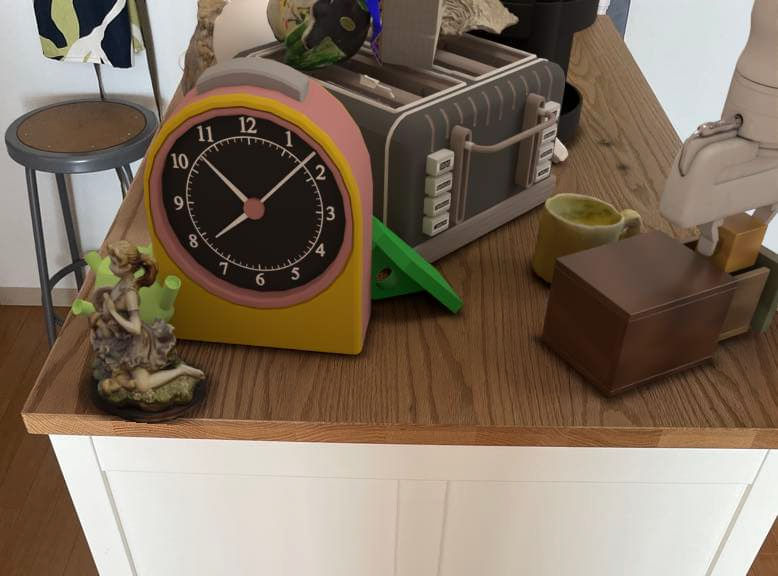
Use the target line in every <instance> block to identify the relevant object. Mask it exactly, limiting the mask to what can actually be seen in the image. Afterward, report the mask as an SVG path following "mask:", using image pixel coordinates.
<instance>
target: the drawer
mask: <svg viewBox="0 0 778 576" xmlns="http://www.w3.org/2000/svg"><path fill="white" fill-rule="evenodd" d="M699 236H700V234H696V235H692V236H689V237H686V238H683V239H680V240H679V239H678V240H677V241H678V242H680V243H682V244H683V245H685V246H686V247H688V248H689V249H691V250H692V251H694V252H695V249H696V246H697V243H698V239H699ZM728 274H730V275H731V276H733V277H734V278H736V279H737V280H739V281H738V284H737V287H736V290H735V293H734V296H733V299H732V301H731V304H730V307H729V310H728V313H727V316H726V318H725V321H724V324H723V327H722V330H721V332H720V335H719V338H718V341H717V343H718V342H721V341H723V340H726V339H729V338H732V337H734V336H737V335H741V334H744V333H746V332H748V330H749V328H751V329H752V330H754V331H756V332H757V333H759V334H763V333H766V332H768V331H769V329H770V326H771V324H772V321H773V319H774V318H775V317H774V316H775V314H776V312H777V309H778V253H777V252H775V251H773V250H772V249H770V248H768V247H767V246H765V245H763V243H762V244H761V247H760V250H759V253H758V256H757V258H756V261H755V264H754V265H753V266H749V267H746V268H743V269H740V270H737V271H734V272H731V273H728Z"/></svg>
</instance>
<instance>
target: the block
mask: <svg viewBox="0 0 778 576" xmlns="http://www.w3.org/2000/svg"><path fill="white" fill-rule="evenodd" d="M717 228H718V236H720V237H722V238H723V239H724V241H723V244H722V246H721V250H720V252H719V253H718V254H715V255H711V256H708V257H706V256H704V255H703V254H701V253H700V252H699V251H698V244H699V240H700V237H701V235H700V234H699V235H700V236H699V239H698V243H697V246H696V249H695V253H697V254H699V255H700V256H702V257H703V258H705V259H706V260H708V261H709V262H711V263H713V264H714V265H716V266H717V267H719V268H720V269H722V270H723V271H725V272H727V273H731V272H734V271H737V270H740V269H743V268H746V267H749V266H753V265H754V264H755V261H756V258H757V256H758V253H759V250H760V247H761V244H762V245H763V242H764V239H765V235H766V233H767V230H768V228H769V224H768V225H767V224H765V223H763V222H761V221H760V220H758V219H756V218H754V217H753V216H752V214H749V213H748V212H747V211H746V212H743V213H739V214H736V215H732V216H729V217H725V218H724V221H723V224H722V226H719V227H717Z"/></svg>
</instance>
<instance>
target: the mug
mask: <svg viewBox="0 0 778 576" xmlns="http://www.w3.org/2000/svg"><path fill="white" fill-rule="evenodd" d="M542 209H543V210H542V213H541V217H540V222H539V225H538V233H537V237H536V243H535V247H534V252H533V253H534V254H533V256H532V268H533V269H532V270H533V272H534V273H535V275H537V277H539V278H542V279H543V280H544V281H545V282H546V283H548V284H549V283H550V284H551V283H552V277H553V272H554V266H555V260H556V258H560V257H563V256H567V255H570V254H574V253H577V252H581V251H584V250H588V249H591V248H595V247H599V246H602V245H606V244H609V243H613V242H616V241H620V240H623V239H627V238H631V237H634V236H638V235H641V234H642V231H643V219H642V217H641V214H639V212H637V211H636V210H634V209H623V210H621V211H618V210H617V209H616V208H615V207H614V206H613V205H612V204H610V203H608V202H606V201H604V200H601V199H599V198H597V197H594V196H590V195H585V194H579V193H570V192H568V193H557V194H555V195H554V196H553V197H552V196H551V198H548V199H547V200H546V201H545V202H544V205H543V208H542ZM626 228H627V229H626ZM625 229H626V230H625ZM624 230H625V231H624ZM623 231H624V232H623Z"/></svg>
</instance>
